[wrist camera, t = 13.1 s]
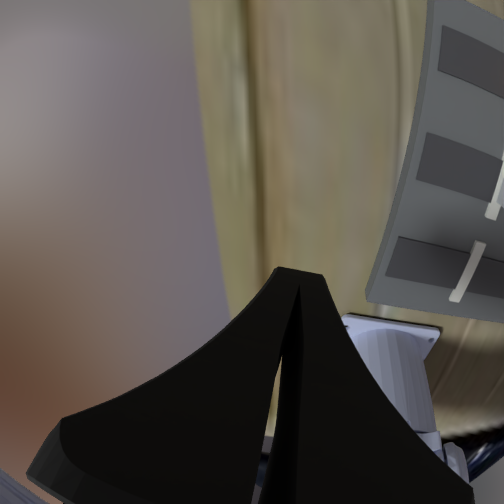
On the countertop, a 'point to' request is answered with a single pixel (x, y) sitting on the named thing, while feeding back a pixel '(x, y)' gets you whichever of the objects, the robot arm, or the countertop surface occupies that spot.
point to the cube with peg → (501, 195)
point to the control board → (450, 176)
